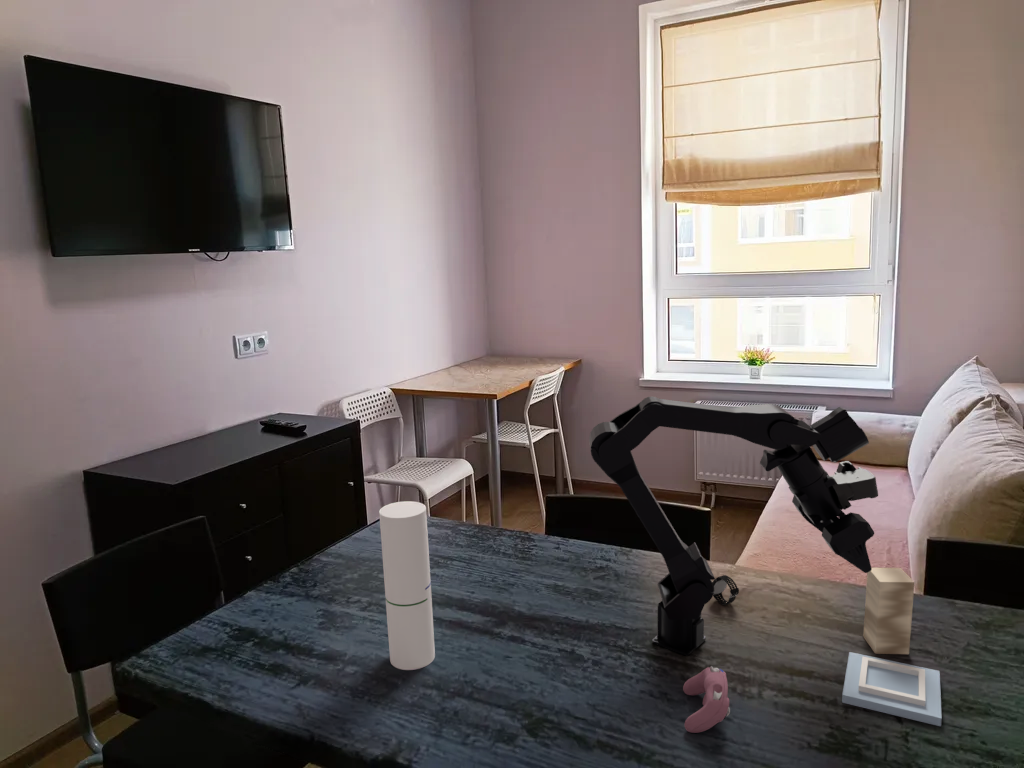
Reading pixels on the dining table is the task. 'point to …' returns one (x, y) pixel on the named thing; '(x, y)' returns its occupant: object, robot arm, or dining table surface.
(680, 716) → the dining table surface
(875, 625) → the maple pillar
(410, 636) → the cylindrical container
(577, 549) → the dining table surface
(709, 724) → the video game controller
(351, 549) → the dining table surface
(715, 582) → the smartwatch
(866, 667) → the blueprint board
